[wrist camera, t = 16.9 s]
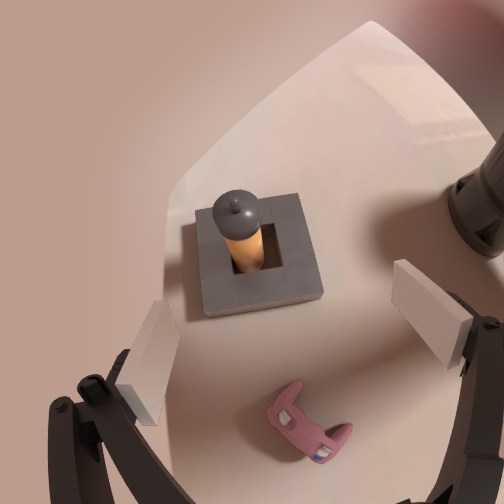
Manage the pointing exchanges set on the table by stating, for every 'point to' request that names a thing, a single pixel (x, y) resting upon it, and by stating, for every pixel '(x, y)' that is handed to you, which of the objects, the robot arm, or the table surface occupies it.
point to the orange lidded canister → (241, 228)
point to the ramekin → (502, 443)
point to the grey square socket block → (263, 281)
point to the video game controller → (304, 427)
